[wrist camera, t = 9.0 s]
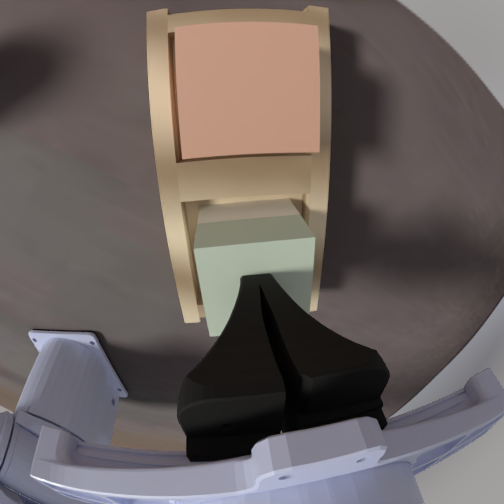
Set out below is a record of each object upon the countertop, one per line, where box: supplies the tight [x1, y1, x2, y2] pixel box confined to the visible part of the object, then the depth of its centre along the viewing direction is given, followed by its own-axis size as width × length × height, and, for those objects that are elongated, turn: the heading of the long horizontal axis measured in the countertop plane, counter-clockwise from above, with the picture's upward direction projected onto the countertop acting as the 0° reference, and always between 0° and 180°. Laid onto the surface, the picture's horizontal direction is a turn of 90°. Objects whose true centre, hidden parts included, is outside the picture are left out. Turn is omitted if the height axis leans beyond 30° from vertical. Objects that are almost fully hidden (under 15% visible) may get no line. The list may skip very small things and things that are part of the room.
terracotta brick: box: [175, 22, 320, 159], centre depth 11 cm, size 5×5×5 cm
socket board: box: [147, 6, 331, 323], centre depth 15 cm, size 18×9×3 cm, turn 2°
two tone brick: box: [194, 198, 315, 337], centre depth 15 cm, size 5×5×5 cm
